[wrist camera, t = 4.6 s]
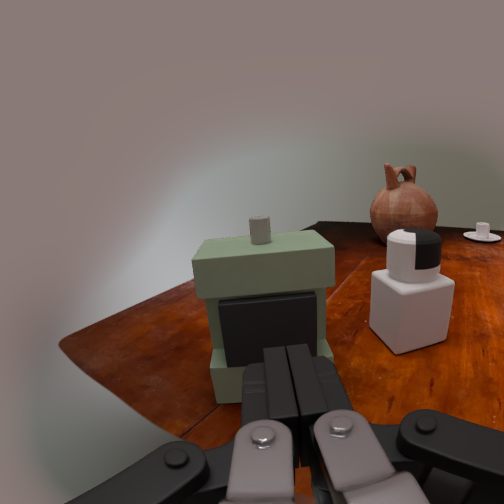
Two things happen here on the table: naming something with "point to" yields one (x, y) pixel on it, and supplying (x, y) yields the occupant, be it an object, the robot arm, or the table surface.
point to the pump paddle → (267, 325)
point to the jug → (402, 204)
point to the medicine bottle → (411, 292)
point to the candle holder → (482, 233)
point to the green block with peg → (260, 284)
